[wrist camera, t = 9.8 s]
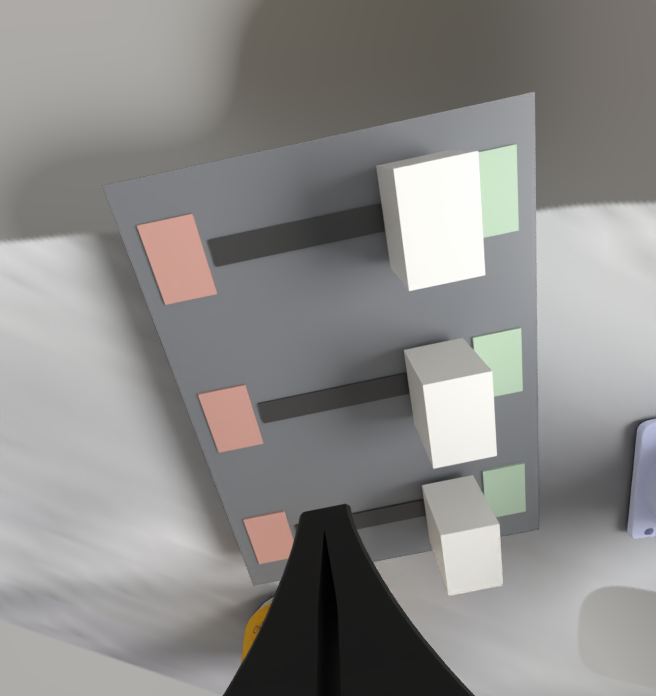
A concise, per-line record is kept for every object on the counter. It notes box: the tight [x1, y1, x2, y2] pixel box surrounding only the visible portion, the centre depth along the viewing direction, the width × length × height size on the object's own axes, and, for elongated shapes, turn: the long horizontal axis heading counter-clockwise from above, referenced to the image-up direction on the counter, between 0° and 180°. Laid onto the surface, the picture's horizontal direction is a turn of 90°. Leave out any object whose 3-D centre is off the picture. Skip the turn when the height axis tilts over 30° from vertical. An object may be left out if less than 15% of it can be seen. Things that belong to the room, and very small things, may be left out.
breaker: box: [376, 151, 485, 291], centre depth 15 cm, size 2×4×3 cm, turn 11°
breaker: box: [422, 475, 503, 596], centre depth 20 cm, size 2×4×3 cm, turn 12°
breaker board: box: [102, 92, 539, 585], centre depth 20 cm, size 15×20×2 cm
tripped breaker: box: [404, 338, 497, 469], centre depth 18 cm, size 2×4×3 cm, turn 11°
